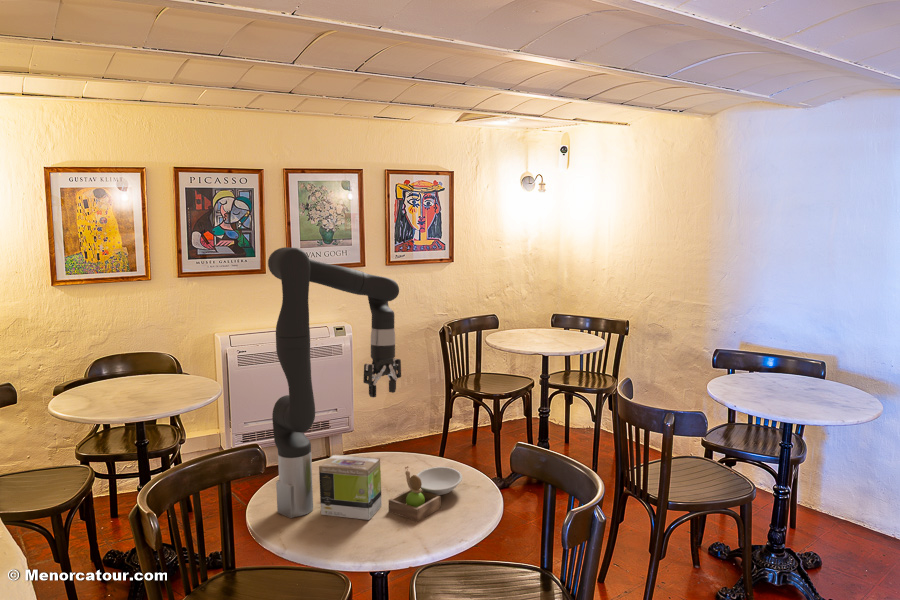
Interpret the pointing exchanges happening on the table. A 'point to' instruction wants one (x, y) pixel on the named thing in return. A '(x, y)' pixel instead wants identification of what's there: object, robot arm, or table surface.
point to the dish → (439, 479)
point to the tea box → (350, 486)
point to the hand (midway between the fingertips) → (382, 394)
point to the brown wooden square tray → (413, 513)
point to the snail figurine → (414, 490)
